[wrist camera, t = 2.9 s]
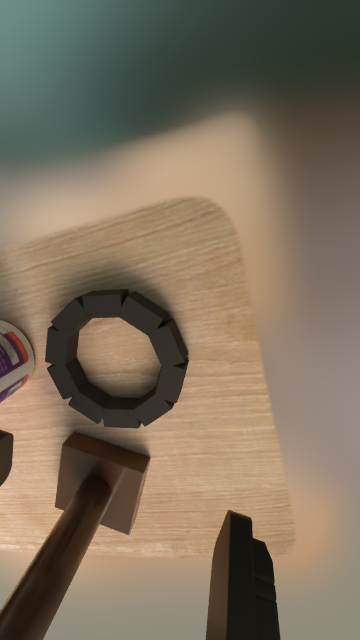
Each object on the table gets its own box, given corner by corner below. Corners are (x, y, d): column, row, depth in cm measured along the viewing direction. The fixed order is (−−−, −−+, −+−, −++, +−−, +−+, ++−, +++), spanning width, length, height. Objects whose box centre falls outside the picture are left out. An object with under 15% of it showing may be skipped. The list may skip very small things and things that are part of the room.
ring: (202, 309, 18) (198, 315, 16) (170, 433, 21) (164, 447, 19) (65, 271, 19) (52, 274, 17) (53, 394, 22) (40, 405, 20)
